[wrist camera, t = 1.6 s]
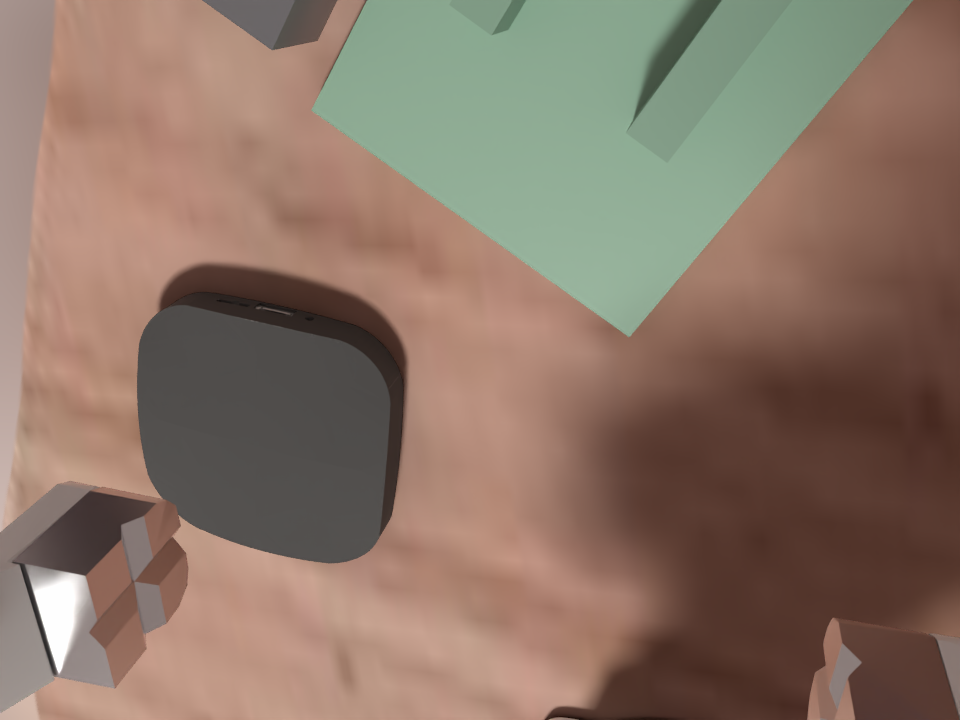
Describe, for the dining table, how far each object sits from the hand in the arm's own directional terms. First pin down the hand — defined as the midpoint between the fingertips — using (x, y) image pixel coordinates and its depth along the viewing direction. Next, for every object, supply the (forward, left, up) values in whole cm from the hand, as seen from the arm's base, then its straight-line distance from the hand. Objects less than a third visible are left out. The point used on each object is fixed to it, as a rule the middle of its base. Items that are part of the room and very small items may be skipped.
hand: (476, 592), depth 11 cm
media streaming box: (-25, +7, -31) cm, 40 cm away
